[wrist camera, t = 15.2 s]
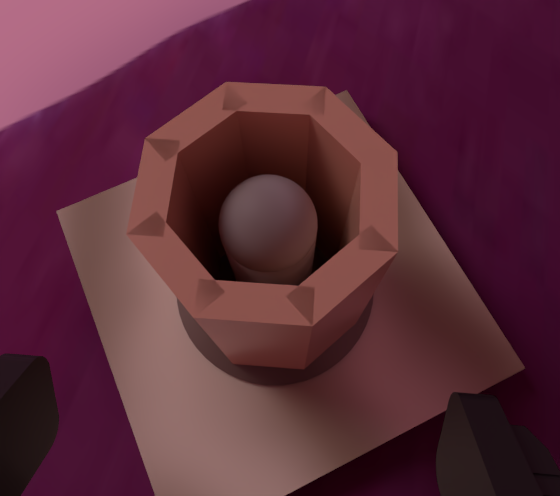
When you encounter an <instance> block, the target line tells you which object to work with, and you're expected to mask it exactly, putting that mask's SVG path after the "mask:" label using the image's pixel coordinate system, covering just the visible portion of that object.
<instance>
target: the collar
mask: <svg viewBox="0 0 560 496" xmlns="http://www.w3.org/2000/svg"><path fill="white" fill-rule="evenodd" d="M265 174H271V175H278V176H282V177H285V178H287V179H290V180H292V181H294V182H295V183H297V184H298V185H299V186H300V187H301V188H303V189H304V191H305V192H306V193H307V194H308V195H309V197H310V199H311V200H312V202H313V204H314V207H315V210H316V214H317V225H318V228H317V236H316V243H315V245H316V246H317V247H318V248H319V249H320V250H321V251H322V253H323V254H324V255H325V256H326V257H327V258H328V259H329V260H328V261H327V262H326V263H325V264H324V265H322V266H321V267H320V268H319V269H318V270H316V271H315V272H314V273H313V274H312V275H310V276H309V277H308V278H307V279H306V280H305V281H303V282H302V283H301V284H300V285H299V286H295V285H280V284H265V283H251V282H236V281H222V280H218V274H219V266H220V258H221V257H222V256H223V255H225V254H226V252H225V249H224V247H223V244H222V241H221V238H220V234H219V226H218V223H219V214H220V210H221V207H222V204H223V202H224V200H225V199H226V197H227V196H228V194H229V193H230V192H231V190H232V189H233V188H234V187H236V186H237V185H238V184H240V183H241V182H243V181H244V180H246V179H248V178H251V177H254V176H258V175H265ZM126 235H127V236H128V237H129V239H130V240H131V241H132V242H133V244H134V245H135V246H136V247H137V249H138V250H139V251H140V252H141V254H142V255H143V256H144V257H145V259H146V260H147V261H148V262H149V263H150V265H151V266H152V267H153V268H154V270H155V271H156V272H157V273H158V275H159V276H160V277H161V278H162V280H163V281H164V282H165V283H166V285H167V286H168V287H169V288H170V290H171V291H172V292H173V293H174V294H175V296H176V297H177V298H178V299H179V301H180V302H181V303H182V304H183V306H184V307H185V308H186V309H187V311H188V312H189V313H190V314H191V316H192V317H193V318H194V319H195V321H196V322H197V323H198V324H199V325H200V326H201V327H202V329H203V330H204V331H205V332H206V333H207V334H208V336H209V337H210V338H211V339H212V340H213V341H214V343H215V344H216V345H217V346H218V347H219V348H220V350H221V351H222V352H223V353H224V354H225V355H226V356H227V358H228V359H229V360H230V361H231V362H232V363H233V364H239V365H252V366H265V367H279V368H292V369H305V368H306V367H307V366H308V365H310V364H311V363H312V362H313V361H314V360H315V359H316V358H317V357H319V356H320V355H321V354H322V353H323V352H324V351H325V350H326V349H328V348H329V347H330V346H331V345H332V344H333V343H334V342H335V341H337V340H338V339H339V338H340V337H341V336H342V335H343V334H344V333H345V332H347V331H348V330H349V329H350V328H351V327H352V326H353V325H354V324H356V322H357V321H358V319H359V317H360V316H361V314H362V312H363V310H364V309H365V307H366V305H367V304H368V302H369V300H370V299H371V297H372V295H373V294H374V292H375V290H376V289H377V287H378V285H379V283H380V282H381V280H382V278H383V277H384V275H385V273H386V272H387V270H388V268H389V267H390V265H391V263H392V262H393V260H394V258H395V256H396V255H397V253H398V152H397V151H396V150H395V149H393V148H392V147H391V146H390V145H389V144H388V143H387V142H386V141H385V140H384V139H383V138H381V137H380V136H379V135H378V134H377V133H376V132H375V131H374V130H373V129H372V128H370V127H369V126H368V125H367V124H366V123H365V122H364V121H363V120H362V119H361V118H359V117H358V116H357V115H356V114H355V113H354V112H353V111H352V110H351V109H350V108H348V107H347V106H346V105H345V104H344V103H343V102H342V101H341V100H340V99H339V98H338V97H336V96H335V95H334V94H333V93H332V92H331V91H330V90H329V89H328V88H327V87H320V86H300V85H279V84H259V83H239V82H225V83H224V84H223V85H221V86H220V87H218V88H217V89H215V90H214V91H212V92H211V93H210V94H208V95H207V96H205V97H204V98H202V99H201V100H200V101H198V102H197V103H195V104H194V105H192V106H191V107H189V108H188V109H187V110H185V111H184V112H182V113H181V114H179V115H178V116H177V117H175V118H174V119H172V120H171V121H169V122H168V123H166V124H165V125H164V126H162V127H161V128H159V129H158V130H156V131H155V132H154V133H152V134H151V135H149V136H148V137H146V138H145V142H144V147H143V152H142V157H141V162H140V167H139V172H138V177H137V182H136V187H135V192H134V197H133V202H132V207H131V212H130V217H129V222H128V227H127V232H126Z"/></svg>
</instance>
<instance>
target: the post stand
mask: <svg viewBox="0 0 560 496" xmlns="http://www.w3.org/2000/svg"><path fill="white" fill-rule="evenodd" d="M335 96H336V97H338V98H339V99H340V100H341V101H342V102H343V103H344V104H345V105H346V106H347V107H348V108H350V109H351V110H352V111H353V112H354V113H355V114H356V115H357V116H358V117H359V118H361V119H362V120H363V121H364V122H365V123H366V124H367V125H368V126H369V124H368V123H367V121H366V119H365V118H364V116H363V115H362V113H361V112H360V110H359V109H358V107H357V105H356V104H355V102H354V101H353V99H352V98H351V96H350V95H349V93H348V91H347V90H346V91H344V92H341V93H339V94H337V95H335ZM369 127H370V126H369ZM370 128H371V127H370ZM136 182H137V178H135V179H133V180H130V181H128V182H126V183H123V184H121V185H118V186H116V187H114V188H111V189H109V190H106V191H104V192H102V193H99V194H97V195H94V196H92V197H90V198H87V199H85V200H82V201H80V202H78V203H75V204H73V205H70V206H68V207H66V208H63V209H61V210H58V211H57V214H58V217H59V220H60V223H61V226H62V229H63V232H64V234H65V237H66V240H67V243H68V246H69V249H70V252H71V255H72V257H73V260H74V263H75V266H76V269H77V272H78V275H79V278H80V281H81V283H82V286H83V289H84V292H85V295H86V298H87V301H88V304H89V306H90V309H91V312H92V315H93V318H94V321H95V324H96V327H97V329H98V332H99V335H100V338H101V341H102V344H103V347H104V350H105V352H106V355H107V358H108V361H109V364H110V367H111V370H112V373H113V375H114V378H115V381H116V384H117V387H118V390H119V393H120V396H121V398H122V401H123V404H124V407H125V410H126V413H127V416H128V419H129V421H130V424H131V427H132V430H133V433H134V436H135V439H136V442H137V444H138V447H139V450H140V453H141V456H142V459H143V462H144V465H145V468H146V470H147V473H148V476H149V479H150V482H151V485H152V488H153V491H154V493H155V496H285V495H287V494H289V493H291V492H293V491H295V490H296V489H298V488H300V487H302V486H304V485H306V484H308V483H310V482H312V481H313V480H315V479H317V478H319V477H321V476H323V475H325V474H327V473H329V472H330V471H332V470H334V469H336V468H338V467H340V466H342V465H344V464H346V463H347V462H349V461H351V460H353V459H355V458H357V457H359V456H361V455H363V454H364V453H366V452H368V451H370V450H372V449H374V448H376V447H378V446H380V445H381V444H383V443H385V442H387V441H389V440H391V439H393V438H395V437H397V436H398V435H400V434H402V433H404V432H406V431H408V430H410V429H412V428H414V427H415V426H417V425H419V424H421V423H423V422H425V421H427V420H429V419H431V418H432V417H434V416H436V415H438V414H440V413H442V412H444V411H446V410H447V406H448V401H449V398H450V396H451V394H452V393H453V392H461V393H473V394H478V393H480V392H482V391H483V390H485V389H487V388H489V387H491V386H493V385H495V384H497V383H499V382H500V381H502V380H504V379H506V378H508V377H510V376H512V375H514V374H516V373H517V372H519V371H521V370H523V369H525V367H524V365H523V364H522V362H521V361H520V359H519V358H518V356H517V354H516V353H515V351H514V350H513V348H512V347H511V345H510V344H509V342H508V340H507V339H506V337H505V336H504V334H503V333H502V331H501V330H500V328H499V326H498V325H497V323H496V322H495V320H494V319H493V317H492V316H491V314H490V312H489V311H488V309H487V308H486V306H485V305H484V303H483V302H482V300H481V298H480V297H479V295H478V294H477V292H476V291H475V289H474V288H473V286H472V284H471V283H470V281H469V280H468V278H467V277H466V275H465V274H464V272H463V270H462V269H461V267H460V266H459V264H458V263H457V261H456V260H455V258H454V256H453V255H452V253H451V252H450V250H449V249H448V247H447V246H446V244H445V242H444V241H443V239H442V238H441V236H440V235H439V233H438V232H437V230H436V228H435V227H434V225H433V224H432V222H431V221H430V219H429V218H428V216H427V214H426V213H425V211H424V210H423V208H422V207H421V205H420V203H419V202H418V200H417V199H416V197H415V196H414V194H413V193H412V191H411V189H410V188H409V186H408V185H407V183H406V182H405V180H404V179H403V177H402V175H401V174H400V172H399V171H398V253H397V255H396V256H395V258H394V260H393V262H392V263H391V265H390V267H389V268H388V270H387V272H386V273H385V275H384V277H383V278H382V280H381V282H380V283H379V285H378V287H377V289H376V290H375V292H374V294H373V295H372V297H371V299H370V300H369V302H368V304H367V305H366V307H365V309H364V310H363V312H362V314H361V316H360V317H359V319H358V321H357V322H356V324H354V325H353V326H352V327H351V328H350V329H349V330H348V331H347V332H345V333H344V334H343V335H342V336H341V337H340V338H339V339H338V340H337V341H335V342H334V343H333V344H332V345H331V346H330V347H329V348H328V349H326V350H325V351H324V352H323V353H322V354H321V355H320V356H319V357H317V358H316V359H315V360H314V361H313V362H312V363H311V364H310V365H308V366H307V367H306V368H305V369H292V368H279V367H265V366H252V365H239V364H233V363H232V362H231V361H230V360H229V359H228V358H227V356H226V355H225V354H224V353H223V352H222V351H221V350H220V348H219V347H218V346H217V345H216V344H215V343H214V341H213V340H212V339H211V338H210V337H209V336H208V334H207V333H206V332H205V331H204V330H203V329H202V327H201V326H200V325H199V324H198V323H197V322H196V321H195V319H194V318H193V317H192V316H191V314H190V313H189V312H188V311H187V309H186V308H185V307H184V306H183V304H182V303H181V302H180V301H179V299H178V298H177V297H176V296H175V294H174V293H173V292H172V291H171V290H170V288H169V287H168V286H167V285H166V283H165V282H164V281H163V280H162V278H161V277H160V276H159V275H158V273H157V272H156V271H155V270H154V268H153V267H152V266H151V265H150V263H149V262H148V261H147V260H146V259H145V257H144V256H143V255H142V254H141V252H140V251H139V250H138V249H137V247H136V246H135V245H134V244H133V242H132V241H131V240H130V239H129V237H128V236H127V235H126V232H127V227H128V222H129V217H130V212H131V207H132V202H133V197H134V192H135V187H136ZM218 226H219V234H220V238H221V241H222V244H223V247H224V249H225V252H226V254H225V255H223V256H222V257H221V258H220V266H219V274H218V280H222V281H236V282H251V283H265V284H280V285H295V286H299V285H300V284H301V283H302V282H303V281H305V280H306V279H307V278H308V277H309V276H310V275H312V274H313V273H314V272H315V271H316V270H318V269H319V268H320V267H321V266H322V265H324V264H325V263H326V262H327V261H328V260H329V259H328V258H327V257H326V256H325V255H324V254H323V253H322V251H321V250H320V249H319V248H318V247H317V246H316V245H315V243H316V236H317V228H318V225H317V214H316V210H315V207H314V204H313V202H312V200H311V199H310V197H309V195H308V194H307V193H306V192H305V191H304V189H303V188H301V187H300V186H299V185H298V184H297V183H295V182H294V181H292V180H290V179H287V178H285V177H282V176H278V175H271V174H265V175H258V176H254V177H251V178H248V179H246V180H244V181H243V182H241V183H240V184H238V185H237V186H236V187H234V188H233V189H232V190H231V192H230V193H229V194H228V196H227V197H226V199H225V200H224V202H223V204H222V207H221V210H220V214H219V223H218Z"/></svg>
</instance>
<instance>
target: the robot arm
mask: <svg viewBox="0 0 560 496" xmlns="http://www.w3.org/2000/svg"><path fill="white" fill-rule="evenodd" d="M58 424H59V414H58V408H57V403H56V398H55V393H54V387H53V382H52V377H51V371H50V366H49V363H48V361H47V359H46V358H45V357H42V356H31V355H19V354H3V355H1V356H0V496H21V494H22V492H23V491H24V489H25V488H26V486H27V485H28V483H29V481H30V480H31V478H32V477H33V475H34V474H35V472H36V470H37V469H38V467H39V466H40V464H41V463H42V461H43V459H44V458H45V456H46V455H47V453H48V451H49V450H50V448H51V447H52V445H53V442H54V440H55V437H56V434H57V430H58ZM436 475H437V482H438V487H439V491H440V495H441V496H560V471H559V469H558V467H557V465H556V463H555V462H554V460H553V458H552V456H551V454H550V452H549V450H548V449H547V448H546V447H545V446H544V445H543V444H542V443H541V442H540V441H539V440H538V439H537V438H536V437H535V436H534V435H533V434H532V433H531V432H530V431H529V430H528V429H527V428H526V427H525V426H517V425H510V424H509V422H508V420H507V418H506V415H505V413H504V411H503V409H502V407H501V405H500V403H499V401H498V399H497V398H496V397H495V396H494V395H485V394H473V393H461V392H453V393H452V394H451V396H450V398H449V401H448V406H447V410H446V414H445V418H444V422H443V427H442V431H441V435H440V439H439V443H438V448H437V454H436Z"/></svg>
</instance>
